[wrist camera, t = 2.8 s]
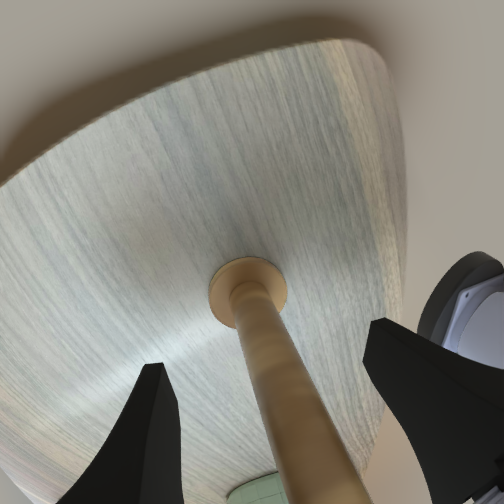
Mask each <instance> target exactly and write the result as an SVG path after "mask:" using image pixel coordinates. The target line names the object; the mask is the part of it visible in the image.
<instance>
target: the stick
mask: <svg viewBox="0 0 504 504" xmlns="http://www.w3.org/2000/svg"><path fill="white" fill-rule="evenodd" d="M208 296H209V304H210V308H211V310H212V313H213V314H214V316H215V317H216V318H217V319H218V320H219V321H220V322H221V323H222V324H224V325H226V326H228V327H230V328H234V329H237V332H238V336H239V340H240V343H241V347H242V351H243V354H244V358H245V362H246V365H247V369H248V372H249V376H250V379H251V383H252V386H253V390H254V393H255V397H256V400H257V404H258V407H259V410H260V414H261V417H262V421H263V424H264V427H265V430H266V434H267V437H268V440H269V444H270V447H271V450H272V453H273V456H274V460H275V463H276V466H277V469H278V472H279V475H280V478H281V481H282V484H283V487H284V490H285V494H286V497H287V500H288V502H289V504H374V503H373V501H372V499H371V497H370V495H369V493H368V491H367V489H366V487H365V485H364V483H363V481H362V479H361V477H360V475H359V473H358V471H357V469H356V467H355V465H354V463H353V461H352V459H351V457H350V455H349V453H348V451H347V449H346V447H345V445H344V443H343V441H342V439H341V437H340V435H339V433H338V431H337V429H336V427H335V425H334V423H333V421H332V419H331V417H330V415H329V413H328V411H327V409H326V407H325V405H324V403H323V401H322V399H321V397H320V395H319V393H318V391H317V389H316V387H315V385H314V383H313V381H312V379H311V377H310V375H309V373H308V371H307V369H306V367H305V365H304V363H303V361H302V359H301V357H300V355H299V353H298V351H297V349H296V347H295V345H294V343H293V341H292V339H291V337H290V335H289V333H288V331H287V329H286V327H285V325H284V323H283V321H282V319H281V317H280V315H279V313H280V312H281V310H282V309H283V307H284V305H285V302H286V298H287V286H286V282H285V280H284V278H283V276H282V275H281V273H280V271H279V270H278V269H277V268H276V267H275V266H274V265H273V264H272V263H270V262H268V261H266V260H264V259H261V258H256V257H244V258H239V259H236V260H233V261H231V262H229V263H227V264H226V265H224V266H223V267H222V268H220V269H219V271H218V272H217V273H216V274H215V275H214V277H213V279H212V280H211V283H210V286H209V292H208Z"/></svg>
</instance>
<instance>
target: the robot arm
mask: <svg viewBox="0 0 504 504" xmlns="http://www.w3.org/2000/svg"><path fill="white" fill-rule="evenodd" d="M456 352H457V353H458V354H459V355H458V354H456ZM362 362H363V364H364V366H365V368H366V371H367V373H368V375H369V377H370V379H371V381H372V383H373V384H374V386H375V388H376V389H377V391H378V392H379V394H380V395H381V397H382V398H383V400H384V401H385V402H386V404H387V405H388V407H389V408H390V410H391V411H392V413H393V414H394V416H395V417H396V419H397V420H398V422H399V423H400V425H401V426H402V428H403V430H404V431H405V433H406V435H407V437H408V439H409V441H410V443H411V445H412V447H413V450H414V451H415V454H416V456H417V459H418V461H419V463H420V466H421V468H422V471H423V474H424V477H425V479H426V482H427V485H428V488H429V492H430V496H431V500H432V503H433V504H463V503H465V502H466V501H467V500H469V499H470V498H471V497H472V499H473V501H474V503H473V504H504V273H503V274H500V275H498V276H496V277H493V278H491V279H488V280H486V281H484V282H481V283H479V284H476V285H474V286H471V287H468V288H466V289H463V290H461V291H460V293H459V294H458V297H457V301H456V304H455V307H454V310H453V313H452V317H451V320H450V323H449V325H448V328H447V331H446V334H445V337H444V339H443V342H442V345H441V346H439V345H437V344H435V343H433V342H431V341H429V340H427V339H425V338H424V337H422V336H420V335H418V334H416V333H414V332H412V331H410V330H409V329H407V328H405V327H403V326H401V325H399V324H397V323H395V322H393V321H391V320H389V319H387V318H385V317H384V318H381V319H378V320H374V321H371V324H370V329H369V334H368V339H367V344H366V348H365V353H364V357H363V361H362ZM56 504H184V499H183V493H182V481H181V427H180V418H179V409H178V401H177V398H176V396H175V393H174V391H173V388H172V386H171V383H170V380H169V378H168V375H167V372H166V369H165V367H164V364H163V362H162V363H153V364H145V365H144V366H143V368H142V370H141V372H140V375H139V377H138V379H137V381H136V384H135V386H134V388H133V390H132V392H131V394H130V396H129V398H128V400H127V402H126V404H125V406H124V408H123V410H122V412H121V414H120V416H119V418H118V420H117V422H116V423H115V425H114V427H113V429H112V430H111V432H110V434H109V436H108V438H107V439H106V441H105V442H104V444H103V446H102V447H101V449H100V450H99V452H98V453H97V455H96V456H95V458H94V459H93V461H92V462H91V463H90V465H89V466H88V467H87V469H86V470H85V471H84V473H83V474H82V475H81V476H80V478H79V479H78V480H77V481H76V483H75V484H74V485H73V486H72V487H71V488H70V489H69V490H68V491H67V493H66V494H65V495H64V496H63V497H62V498H61V499H60V500H59V501H58V502H57V503H56Z"/></svg>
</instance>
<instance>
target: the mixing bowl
mask: <svg viewBox="0 0 504 504" xmlns="http://www.w3.org/2000/svg"><path fill="white" fill-rule="evenodd" d="M227 504H289V502H288V500H287V497H286V494H285V490H284V487H283V484H282V481H281V478H280V475H279V472H278V473H274V474H271V475H268V476H265V477H261V478H259V479H256V480H253V481H251V482H248V483H246V484H244V485H242V486H240V487H238V488H237V489H235V490H234V491H233V492H232V493H231V494H230V495H229V499H228V500H227Z"/></svg>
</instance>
